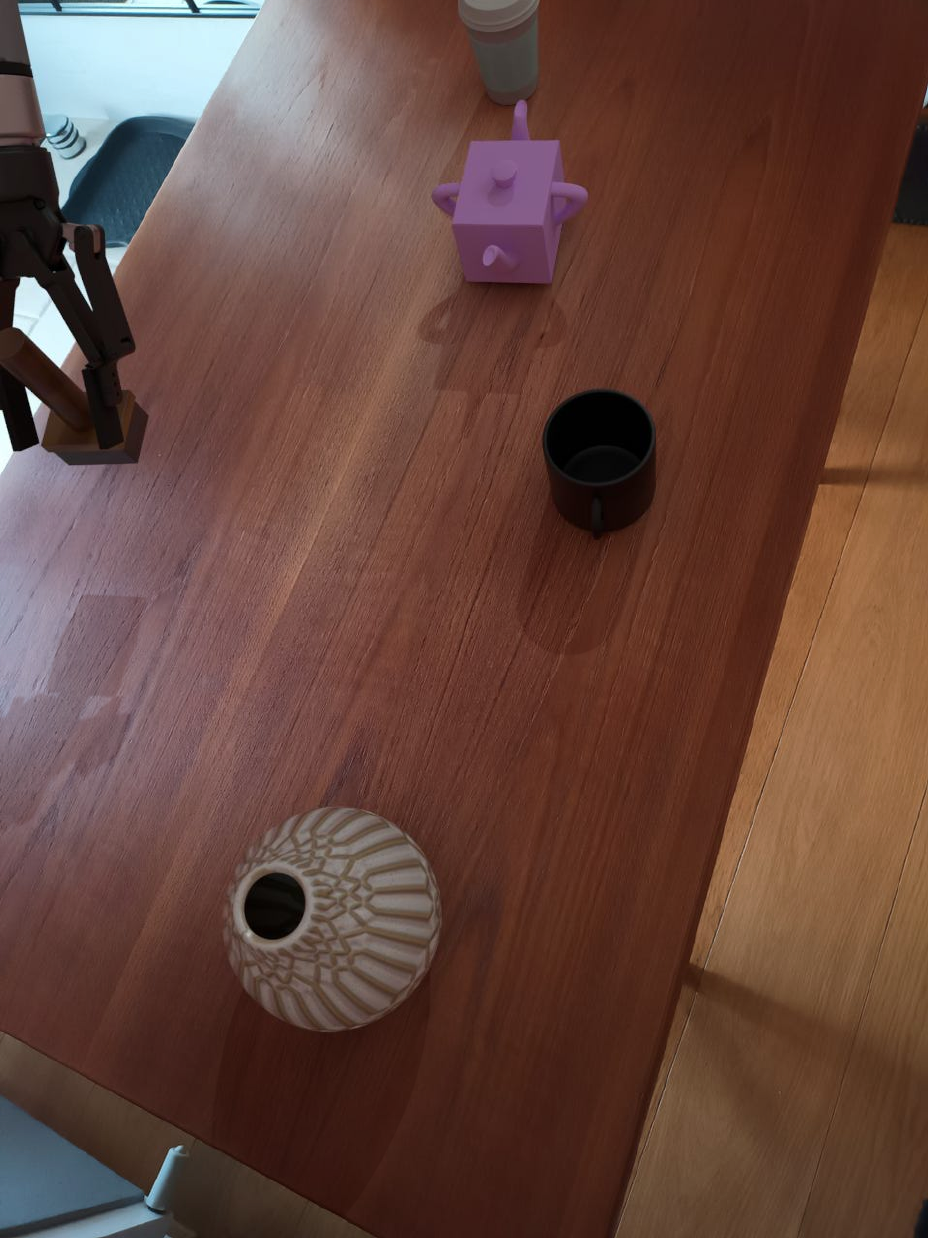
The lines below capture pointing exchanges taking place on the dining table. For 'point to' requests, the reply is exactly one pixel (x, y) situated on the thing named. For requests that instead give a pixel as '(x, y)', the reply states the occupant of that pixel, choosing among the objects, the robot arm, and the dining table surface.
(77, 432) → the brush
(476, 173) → the teapot
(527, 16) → the coffee cup
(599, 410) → the mug
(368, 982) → the vase
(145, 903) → the dining table surface
